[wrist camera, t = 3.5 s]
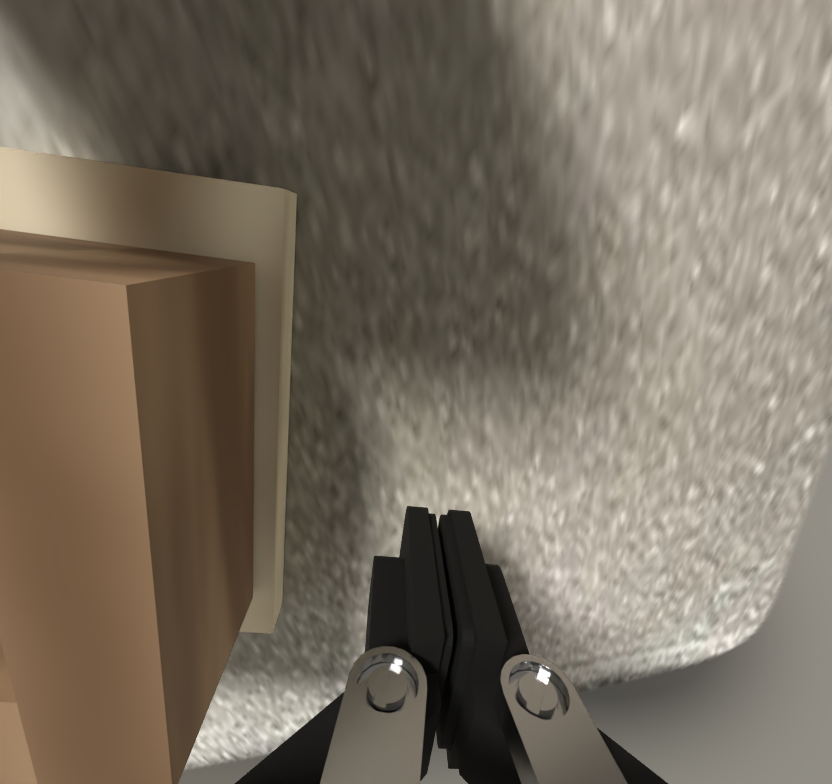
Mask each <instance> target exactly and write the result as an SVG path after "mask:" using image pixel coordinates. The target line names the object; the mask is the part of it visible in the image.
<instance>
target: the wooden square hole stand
mask: <svg viewBox="0 0 832 784" xmlns="http://www.w3.org/2000/svg"><path fill="white" fill-rule="evenodd" d="M296 208H297V194H296V193H293V192H291V191H289V190H286V189H283V188H276V187H270V186H263V185H256V184H249V183H243V182H236V181H229V180H222V179H215V178H209V177H202V176H195V175H188V174H181V173H175V172H168V171H161V170H154V169H148V168H141V167H134V166H127V165H120V164H114V163H107V162H100V161H93V160H86V159H80V158H73V157H66V156H59V155H53V154H46V153H39V152H32V151H25V150H19V149H12V148H5V147H0V229H4V230H11V231H19V232H27V233H34V234H42V235H49V236H57V237H64V238H72V239H79V240H87V241H95V242H102V243H110V244H117V245H125V246H132V247H140V248H147V249H155V250H162V251H170V252H178V253H185V254H193V255H200V256H208V257H215V258H223V259H230V260H238V261H246V262H253V263H255V360H254V520H253V599H252V601H251V603H250V606H249V608H248V611H247V613H246V616H245V618H244V621H243V623H242V626H241V628H240V631H239V632H250V633H266V634H273V631H274V628H275V625H276V622H277V618H278V615H279V612H280V609H281V606H282V598H283V570H284V542H285V514H286V486H287V459H288V431H289V403H290V375H291V347H292V319H293V292H294V264H295V236H296Z"/></svg>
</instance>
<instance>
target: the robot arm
mask: <svg viewBox="0 0 832 784" xmlns="http://www.w3.org/2000/svg"><path fill="white" fill-rule="evenodd" d="M435 732H436V735H437V744H438V748H440V749H447V759H448V768H449V769H459V773H460V775H461V776H462V778H463V779H464V780H465V781H466V782H467V783H468V784H668V783H667V782H665V781H664V780H663V779H661V778H660V777H659V776H658V775H656V774H655V773H654V772H652V771H651V770H650V769H649V768H648V767H646V766H645V765H644V764H642V763H641V762H640V761H639V760H637V759H636V758H635V757H634V756H632V755H631V754H630V753H628V752H627V751H626V750H624V749H623V748H622V747H621V746H620V745H618V744H617V743H616V742H615V741H613V740H612V739H611V738H609V737H608V736H607V735H606V734H604V733H603V732H602V731H601V730H599V729H598V728H597V727H596V726H595V724H594V722H593V721H592V719H591V717H590V715H589V713H588V711H587V709H586V708H585V706H584V704H583V702H582V701H581V699H580V697H579V695H578V693H577V691H576V690H575V688H574V686H573V684H572V683H571V682H570V680H569V679H568V677H567V676H566V674H565V673H563V672H562V671H561V670H560V669H559V668H558V667H557V666H556V665H554V664H553V663H551V662H549V661H548V660H546V659H544V658H541V657H538V656H535V655H529V652H528V649H527V646H526V643H525V640H524V637H523V634H522V631H521V628H520V625H519V622H518V619H517V616H516V613H515V610H514V607H513V604H512V601H511V598H510V595H509V592H508V589H507V586H506V583H505V579H504V576H503V573H502V571H501V569H500V567H499V566H498V565H491V564H485V562H484V558H483V555H482V551H481V548H480V544H479V541H478V537H477V534H476V530H475V527H474V523H473V520H472V516H471V513H470V512H469V511H459V510H449V511H448V513H447V515H441V516H440V519H439V525H438V528H437V521H436V515H435V514H429V512H428V508H424V507H412V506H407V509H406V514H405V521H404V528H403V535H402V542H401V549H400V556H399V558H398V557H385V556H374V561H373V568H372V577H371V585H370V595H369V605H368V617H367V631H366V645H365V653H364V654H362V655H361V656H360V657H359V658H358V659H357V660H356V661H355V663H354V664H353V667H352V669H351V671H350V673H349V677H348V681H347V684H346V688H345V692H344V693H342V694H341V695H340V696H339V697H338V698H336V699H335V700H334V701H333V702H332V703H330V704H329V705H328V706H327V707H326V708H324V709H323V710H322V711H321V712H320V713H318V714H317V715H316V716H315V717H314V718H313V719H311V720H310V721H309V722H308V723H307V724H305V725H304V726H303V727H302V728H301V729H299V730H298V731H297V732H296V733H295V734H293V735H292V736H291V737H290V738H289V739H287V740H286V741H285V742H284V743H283V744H281V745H280V746H279V747H278V748H277V749H276V750H274V751H273V752H272V753H271V754H270V755H268V756H267V757H266V758H265V759H264V760H262V761H261V762H260V763H259V764H258V765H256V766H255V767H254V768H253V769H252V770H250V771H249V772H248V773H247V774H246V775H245V776H243V777H242V778H241V779H240V780H239V781H237V782H236V783H235V784H420V781H421V780H422V779H423V777H424V776H425V775H426V774H427V771H428V765H429V761H430V756H431V751H432V747H433V742H434V736H435Z"/></svg>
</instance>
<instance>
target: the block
mask: <svg viewBox="0 0 832 784" xmlns="http://www.w3.org/2000/svg"><path fill="white" fill-rule="evenodd" d="M254 360H255V263H253V262H246V261H238V260H230V259H223V258H215V257H208V256H200V255H193V254H185V253H178V252H170V251H162V250H155V249H147V248H140V247H132V246H125V245H117V244H110V243H102V242H95V241H87V240H79V239H72V238H64V237H57V236H49V235H42V234H34V233H27V232H19V231H11V230H4V229H0V784H178V783H179V780H180V778H181V775H182V773H183V770H184V768H185V765H186V763H187V760H188V758H189V755H190V753H191V750H192V748H193V745H194V743H195V740H196V738H197V735H198V733H199V730H200V728H201V725H202V723H203V720H204V718H205V715H206V713H207V710H208V708H209V705H210V703H211V700H212V698H213V696H214V693H215V691H216V688H217V686H218V683H219V681H220V678H221V676H222V673H223V671H224V668H225V666H226V663H227V661H228V658H229V656H230V653H231V651H232V648H233V646H234V643H235V641H236V638H237V636H238V633H239V631H240V628H241V626H242V623H243V621H244V618H245V616H246V613H247V611H248V608H249V606H250V603H251V601H252V599H253V520H254Z"/></svg>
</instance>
